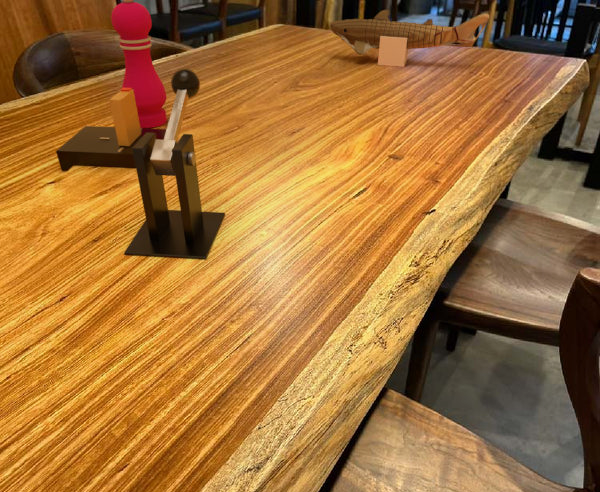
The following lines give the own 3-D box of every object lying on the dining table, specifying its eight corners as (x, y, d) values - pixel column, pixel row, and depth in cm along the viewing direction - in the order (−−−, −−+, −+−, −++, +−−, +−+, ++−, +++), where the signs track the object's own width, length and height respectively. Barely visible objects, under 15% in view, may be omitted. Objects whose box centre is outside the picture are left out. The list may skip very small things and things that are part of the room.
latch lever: (177, 85, 63) (171, 61, 60) (204, 85, 63) (199, 62, 60) (152, 177, 57) (143, 156, 54) (181, 179, 56) (174, 157, 53)
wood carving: (478, 74, 118) (489, 17, 111) (324, 62, 125) (326, 8, 118) (479, 64, 125) (489, 10, 118) (333, 53, 132) (335, 2, 125)
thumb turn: (129, 146, 76) (120, 98, 72) (118, 146, 76) (108, 97, 72) (141, 133, 80) (133, 87, 76) (131, 133, 80) (122, 86, 76)
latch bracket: (154, 217, 66) (136, 122, 59) (226, 221, 65) (217, 125, 58) (125, 262, 58) (101, 158, 51) (206, 266, 57) (194, 162, 50)
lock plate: (61, 170, 77) (55, 149, 75) (89, 144, 85) (85, 124, 83) (156, 175, 76) (152, 153, 74) (176, 148, 84) (173, 128, 82)
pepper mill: (155, 131, 89) (133, -5, 77) (118, 126, 91) (91, -8, 79) (177, 118, 95) (160, -12, 82) (142, 113, 97) (120, -15, 84)
